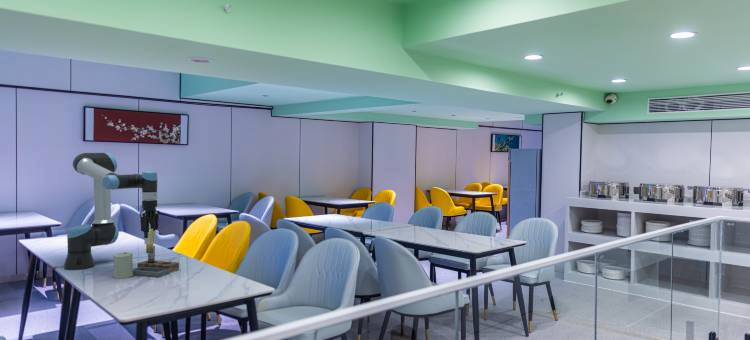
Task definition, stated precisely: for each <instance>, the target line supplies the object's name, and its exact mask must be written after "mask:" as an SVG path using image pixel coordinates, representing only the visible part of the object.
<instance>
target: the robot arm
mask: <svg viewBox="0 0 750 340" xmlns="http://www.w3.org/2000/svg"><path fill="white" fill-rule="evenodd" d="M72 168H73V169H74V171H75V172H77V173H79V174H80V175H84V176H88V177H90V178H92V179H93V201H94V202H93V204H94V209H93V210H94V211H93V212H94V219H93V221H92V222H91V224H89V223H88V224H87V223H86V224H78V225H77V224H76V225H74V226H71V227H69V228H68V230H67V235H66V237H67V255H66V257H65V262H64V263H63V269H65V270H85V269H91V268H94V267H95V260H94V258H93V257H94V256H93V253H92V247H98V246H99V247H100V246H109V245H113V244H115V243H116V241H117V240H118V238H119V233H120V230H119V227H118V225H117V224H116V223H115V221H114V220H113V219H112V205H111V203H112V201H111V197H112V195H111V191H112V190H123V189H126V190H127V189H128V190H129V189H141V199H142V201H141V207H142V208H143V210H142V211H143V212H140V213H139V217H140V218H139V219H140V231H141V232H143V238H144V241H143V242H144V245H146V244H150V232H148V231H149V228H153V244H154V243H156V231H158V229H159V220H160V219H159V217H160V210H157V207H158V172H157V171H155V170H143V171H142V172H141V174H139V173H132V174H118V173H115V172H116V171H117V170H118V169H117V168H118V162H117V159H116V157H115V156H114V155H113V154H112V153H111V152H110V153H109V152H82V153H79V154H78V155H76V156H75V157H74V158H73V161H72Z"/></svg>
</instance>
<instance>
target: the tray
mask: <svg viewBox="0 0 750 340" xmlns="http://www.w3.org/2000/svg"><path fill="white" fill-rule="evenodd" d="M133 274H134V275H133V276H137V277H138V276H140V277H150V278H151V277H152V278H161V277H164V276H166V275H168V274H169V275H170V273H169V269H163V268H151V267H138V266H137V267H136V268H133Z"/></svg>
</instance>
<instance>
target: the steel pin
mask: <svg viewBox="0 0 750 340" xmlns="http://www.w3.org/2000/svg"><path fill="white" fill-rule="evenodd" d="M147 260H148V263H155V261H156V245H153V253H147Z"/></svg>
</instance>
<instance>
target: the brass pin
mask: <svg viewBox="0 0 750 340" xmlns="http://www.w3.org/2000/svg"><path fill="white" fill-rule="evenodd" d="M148 232H150V244H145V247H146V248H145V252H146V253H145V254H148V253H153V246H154V243H153V228H151V227H149V231H148Z"/></svg>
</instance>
